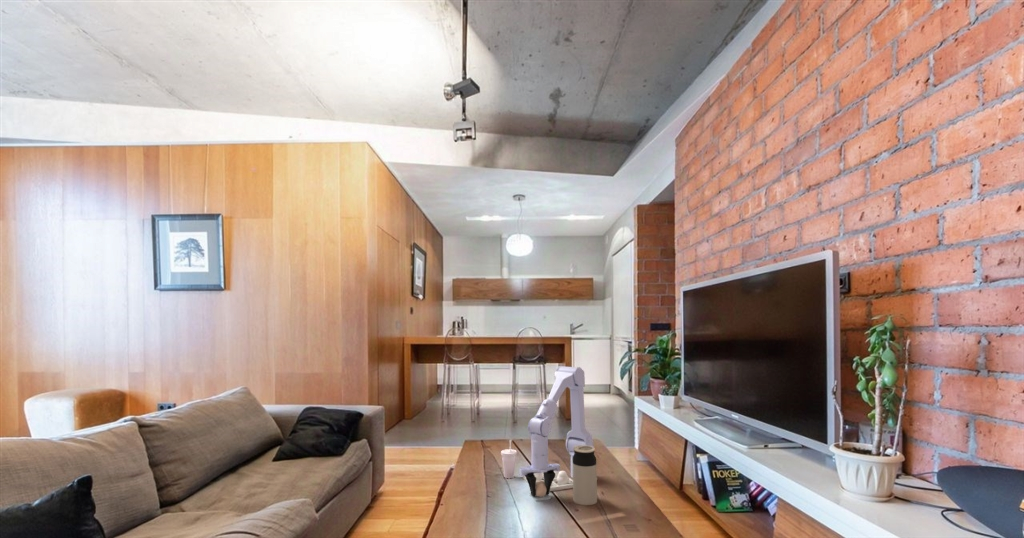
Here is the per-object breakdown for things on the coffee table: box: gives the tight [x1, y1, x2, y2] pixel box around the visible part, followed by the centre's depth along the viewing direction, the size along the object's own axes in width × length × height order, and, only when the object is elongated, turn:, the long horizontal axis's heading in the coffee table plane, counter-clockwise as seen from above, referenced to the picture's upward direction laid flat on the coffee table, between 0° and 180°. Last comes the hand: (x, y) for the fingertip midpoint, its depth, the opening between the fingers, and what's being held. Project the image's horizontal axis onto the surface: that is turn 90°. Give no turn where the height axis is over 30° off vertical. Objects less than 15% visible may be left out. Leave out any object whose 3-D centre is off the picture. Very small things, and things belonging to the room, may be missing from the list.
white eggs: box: [534, 470, 570, 485], centre depth 170 cm, size 12×12×5 cm
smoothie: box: [500, 439, 518, 480], centre depth 179 cm, size 6×6×14 cm
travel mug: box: [572, 445, 598, 506], centre depth 154 cm, size 8×8×18 cm
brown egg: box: [535, 480, 547, 497], centre depth 156 cm, size 5×5×5 cm
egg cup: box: [529, 492, 552, 502], centre depth 156 cm, size 6×6×2 cm
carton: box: [522, 474, 573, 492], centre depth 169 cm, size 15×15×2 cm
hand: (540, 494), depth 156 cm, fingers closed on brown egg, 4 cm apart
